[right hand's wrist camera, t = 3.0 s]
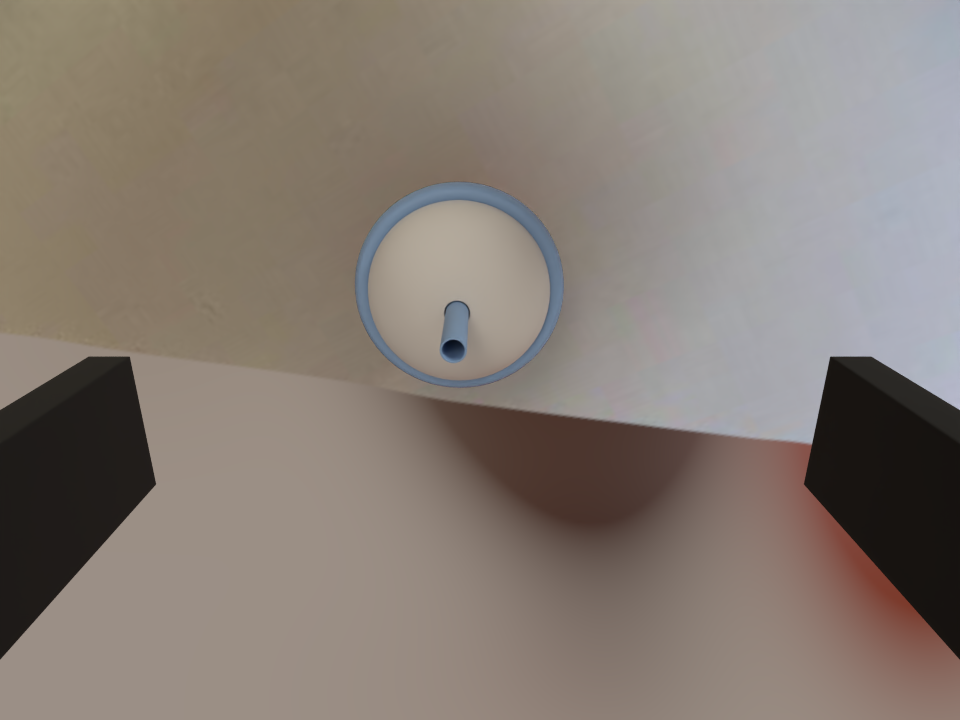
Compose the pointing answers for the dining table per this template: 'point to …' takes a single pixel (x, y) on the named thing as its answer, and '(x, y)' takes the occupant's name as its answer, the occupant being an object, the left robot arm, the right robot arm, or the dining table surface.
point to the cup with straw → (459, 284)
